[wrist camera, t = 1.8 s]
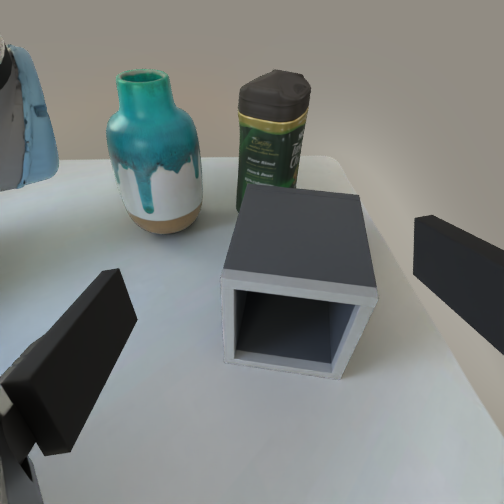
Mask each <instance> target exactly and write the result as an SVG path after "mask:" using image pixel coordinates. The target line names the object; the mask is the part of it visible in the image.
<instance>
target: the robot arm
mask: <svg viewBox="0 0 504 504" xmlns="http://www.w3.org/2000/svg"><path fill="white" fill-rule="evenodd" d="M58 167H59V157H58V151H57V147H56V141H55V137H54V133H53V128H52V125H51V121H50V118H49V115H48V113H47V107H46V104H45V100H44V95H43V91H42V88H41V85H40V82H39V78H38V75H37V72H36V69H35V66H34V64H33V61H32V59H31V56H30V55H29V53H28V52H27V51H26V50H25V49H24V48H21V47H15V46H13V45H11V44H10V45H5V43H4V41H3V38H2V36H1V34H0V191H5V190H10V189H19V188H22V187H24V186H25V185H28V184H31V183H35V182H39V181H42V180H46V179H49V178H51V177H52V176H54V175H55V174H56V172H57V170H58ZM413 260H414V261H413V275H414V276H416V277H417V278H418V279H419V280H420V281H421V282H422V283H423V284H425V285H426V286H427V287H428V288H429V289H430V290H431V291H432V292H433V293H435V294H436V295H437V296H438V297H439V298H440V299H441V300H442V301H444V302H445V303H446V304H447V305H448V306H449V307H450V308H451V309H453V310H454V311H455V312H456V313H457V314H458V315H459V316H461V318H463V319H464V320H465V321H466V322H467V323H468V324H469V325H470V326H472V327H473V328H474V329H475V330H476V331H477V332H478V333H479V334H480V335H482V336H483V337H484V338H485V339H486V340H487V341H488V342H489V343H491V344H492V345H493V346H494V347H495V348H496V349H497V350H498V351H499V352H501V353H502V354H503V355H504V250H502V249H500V248H498V247H496V246H494V245H491V244H490V243H488V242H486V241H484V240H482V239H480V238H478V237H476V236H474V235H472V234H470V233H468V232H466V231H464V230H462V229H460V228H458V227H456V226H454V225H452V224H450V223H448V222H446V221H444V220H442V219H439V218H438V217H436V216H434V215H429V216H423V217H418V218H415V222H414V259H413ZM137 320H138V319H137V316H136V313H135V311H134V308H133V305H132V302H131V300H130V297H129V294H128V291H127V289H126V286H125V283H124V280H123V278H122V275H121V272H120V269H119V268H117V269H111V270H105V271H102V272H101V273H100V274H99V275H98V276H97V277H96V279H95V280H94V281H93V282H92V283H91V284H90V285H89V286H88V287H87V289H86V290H85V291H84V292H83V293H82V294H81V295H80V296H79V297H78V299H77V300H76V301H75V302H74V303H73V304H72V305H71V306H70V307H69V308H68V310H67V311H66V312H65V313H64V314H63V315H62V316H61V317H60V318H59V320H58V321H57V322H56V323H55V324H54V325H53V326H52V327H51V328H50V330H49V331H48V332H47V333H46V334H45V335H43V336H42V337H40V338H39V339H38V340H36V341H35V342H33V343H32V344H31V345H30V346H29V347H28V348H27V349H26V350H25V351H24V352H23V353H22V354H21V355H20V358H17V360H16V361H15V362H14V363H13V364H12V367H9V368H8V369H7V370H6V371H5V372H4V374H3V375H2V376H1V377H0V504H44V503H43V499H42V495H41V492H40V488H39V484H38V480H37V476H36V473H35V469H34V465H33V462H32V461H31V459H30V458H29V456H28V454H29V452H30V450H31V449H32V447H33V446H34V444H35V443H37V445H38V446H39V448H40V449H41V451H42V453H43V454H44V456H49V455H56V454H62V453H69V452H71V450H72V448H73V446H74V444H75V442H76V440H77V438H78V436H79V434H80V432H81V430H82V428H83V426H84V425H85V423H86V421H87V419H88V417H89V415H90V413H91V411H92V409H93V407H94V405H95V403H96V401H97V399H98V397H99V395H100V393H101V391H102V389H103V387H104V385H105V383H106V381H107V379H108V377H109V375H110V373H111V371H112V369H113V367H114V365H115V363H116V361H117V359H118V358H119V356H120V354H121V352H122V350H123V348H124V346H125V344H126V342H127V340H128V338H129V336H130V334H131V332H132V330H133V328H134V326H135V324H136V322H137Z"/></svg>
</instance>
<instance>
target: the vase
mask: <svg viewBox="0 0 504 504" xmlns="http://www.w3.org/2000/svg"><path fill="white" fill-rule="evenodd" d="M116 85H117V90H118V96H119V102H120V108H119V111H118V112H116V113H115V114H113V115H112V116H111V117H110V119H109V121H108V123H107V130H106V137H107V145H108V150H109V155H110V160H111V164H112V168H113V171H114V175H115V179H116V182H117V185H118V188H119V191H120V194H121V197H122V200H123V202H124V205H125V207H126V210H127V212H128V214H129V215H130V217H131V218H132V220H133V221H134V222H135V223H136V224H137V225H138V226H140V227H141V228H143V229H144V230H146V231H149V232H152V233H157V234H169V233H175V232H178V231H181V230H183V229H185V228H187V227H188V226H190V225H191V224H192V223H193V222H194V221H195V219H196V218H197V216H198V215H199V212H200V210H201V205H202V167H201V157H200V149H199V142H198V137H197V132H196V128H195V125H194V122H193V120H192V119H191V117H190V116H189V114H188V113H186V112H185V111H184V110H182V109H180V108H178V107H176V105H175V103H174V100H173V95H172V91H171V85H170V80H169V76H168V75H167V74H166V73H165V72H163V71H159V70H153V69H136V70H129V71H125V72H122V73H120V74H118V75H117V77H116Z"/></svg>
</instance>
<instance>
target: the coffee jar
mask: <svg viewBox="0 0 504 504" xmlns="http://www.w3.org/2000/svg"><path fill="white" fill-rule="evenodd" d="M310 93H311V87H310V85H309V83H308V82H307V80H305V78H304V76H303V75H302V74H298V73H292V72H287V71H282V70H273V71H272V72H270V73H267V74H265V75H262V76H260V77H258V78H256V79H254V80H252V81H251V82H249V83H247V84H245V85H244V86H242V87H241V89H240V93H239V105H238V117H239V125H240V147H239V168H238V184H237V199H236V209H237V211H238V213H239V211H240V208H241V204H242V201H243V197H244V194H245V190H246V187H247V184H258V185H267V186H277V187H286V188H296V182H297V174H298V167H299V160H300V153H301V146H302V140H303V134H304V129H305V123H306V118H307V113H308V106H309V99H310Z"/></svg>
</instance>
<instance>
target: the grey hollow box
mask: <svg viewBox="0 0 504 504" xmlns="http://www.w3.org/2000/svg"><path fill="white" fill-rule="evenodd" d="M220 283H221V304H222V325H223V347H224V363H230V364H237V365H243V366H250V367H257V368H263V369H270V370H277V371H284V372H290V373H297V374H304V375H311V376H317V377H324V378H331V379H338V380H340V379H341V377H342V375H343V373H344V370H345V368H346V366H347V364H348V362H349V360H350V358H351V356H352V354H353V352H354V349H355V347H356V345H357V343H358V341H359V339H360V337H361V335H362V333H363V331H364V329H365V326H366V324H367V322H368V320H369V318H370V316H371V314H372V312H373V310H374V307H375V306H376V304H377V301H378V299H379V296H378V291H377V286H376V281H375V275H374V270H373V265H372V260H371V255H370V249H369V244H368V239H367V234H366V228H365V223H364V218H363V213H362V207H361V202H360V198H359V195H354V194H344V193H334V192H325V191H315V190H306V189H296V188H286V187H277V186H267V185H258V184H247V187H246V190H245V194H244V197H243V201H242V204H241V208H240V211H239V215H238V218H237V222H236V225H235V229H234V232H233V236H232V239H231V243H230V246H229V250H228V253H227V256H226V260H225V263H224V267H223V270H222V274H221V277H220Z"/></svg>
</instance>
